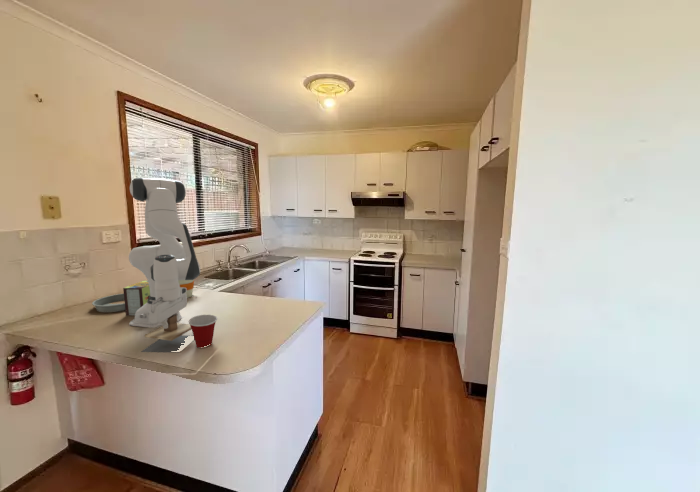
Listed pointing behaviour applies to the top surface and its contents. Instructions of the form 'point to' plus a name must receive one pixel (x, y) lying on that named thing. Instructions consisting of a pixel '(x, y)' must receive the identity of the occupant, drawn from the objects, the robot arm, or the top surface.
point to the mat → (166, 345)
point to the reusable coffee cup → (187, 286)
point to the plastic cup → (203, 329)
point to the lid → (169, 330)
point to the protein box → (135, 297)
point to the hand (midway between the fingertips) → (170, 325)
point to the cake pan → (104, 305)
